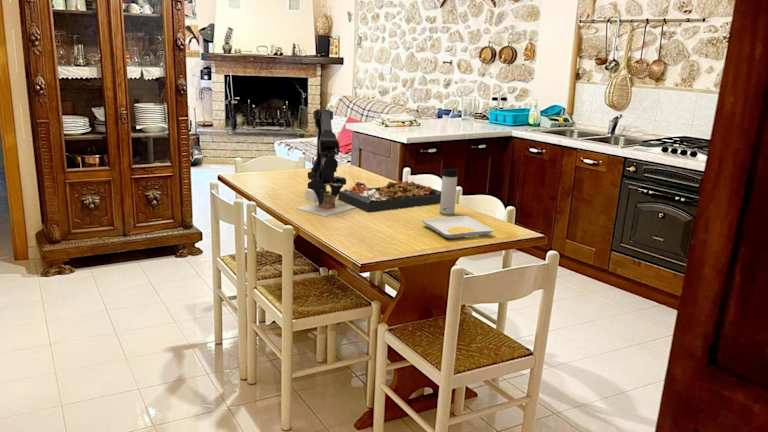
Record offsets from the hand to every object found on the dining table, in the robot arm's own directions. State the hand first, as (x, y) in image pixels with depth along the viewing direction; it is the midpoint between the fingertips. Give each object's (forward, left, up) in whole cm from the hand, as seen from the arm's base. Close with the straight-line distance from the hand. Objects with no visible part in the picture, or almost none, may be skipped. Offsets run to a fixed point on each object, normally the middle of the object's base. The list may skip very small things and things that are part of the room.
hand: (326, 203), depth 264 cm
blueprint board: (0, 0, -2) cm, 2 cm away
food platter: (-33, +12, -3) cm, 36 cm away
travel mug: (-31, +41, -3) cm, 51 cm away
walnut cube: (0, 0, -2) cm, 2 cm away
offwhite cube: (-7, -14, -3) cm, 16 cm away
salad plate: (-11, +57, -3) cm, 58 cm away
